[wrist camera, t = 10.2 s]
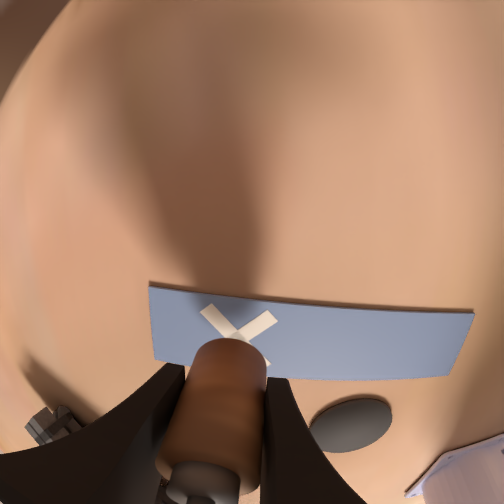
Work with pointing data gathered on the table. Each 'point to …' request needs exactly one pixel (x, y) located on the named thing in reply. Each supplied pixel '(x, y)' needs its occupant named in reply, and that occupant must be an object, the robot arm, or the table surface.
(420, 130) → the table surface
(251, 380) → the awl
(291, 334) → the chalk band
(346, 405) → the coaster
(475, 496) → the robot arm
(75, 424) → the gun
